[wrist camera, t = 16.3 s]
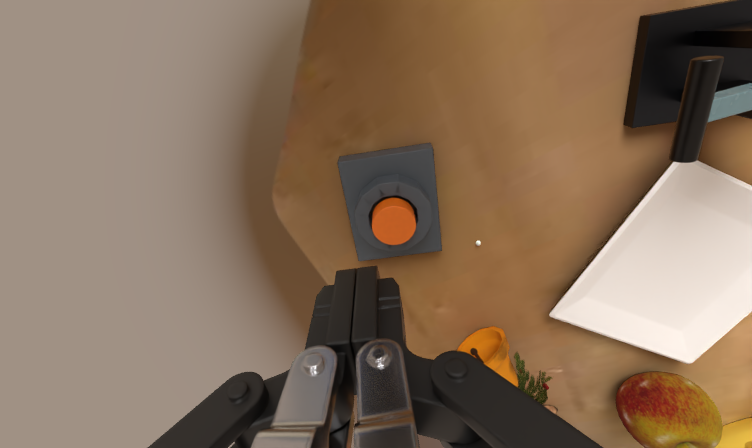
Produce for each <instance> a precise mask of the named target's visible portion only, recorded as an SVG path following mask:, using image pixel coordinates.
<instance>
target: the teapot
mask: <svg viewBox="0 0 752 448" xmlns="http://www.w3.org/2000/svg"><path fill="white" fill-rule="evenodd" d="M722 428H723V429H722V437H721V440H720V442H719V443H718V445H717V446H716V447H715V448H752V418H748V419H744V420H740V421H736V422H733V423H730V424H727V425H724V426H722Z"/></svg>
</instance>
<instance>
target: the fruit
mask: <svg viewBox="0 0 752 448" xmlns="http://www.w3.org/2000/svg"><path fill="white" fill-rule="evenodd" d="M616 407H617V412H618V415H619V417H620V419H621V421H622V423H623V425H624V426H625V428H626V429H627V430H628V432H629V433H630V434H631V435H632V436H633V438H634V439H635V440H637V441H638V442H639V443H640V444H641V445H643V446H644V447H645V448H715V447H716V446H717V445H718V443H719V442H720V440H721V437H722V429H723V428H722V421H721V416H720V414H719V411H718V409H717V407H716V405H715V404H714V402H713V401H712V400H711V398H710V397H709V396H708V395H707V394H706V393H705V392H704V391H703V390H702V389H701V388H700V387H699V386H697V385H696V384H695V383H693V382H692V381H690V380H688V379H686V378H684V377H682V376H679V375H677V374H673V373H666V372H657V371H655V372H646V373H641V374H637V375H634V376H632V377H630V378H629V379H627V380H626V381H624V383H623V384H622V385H621V386H620V388H619V389H618V392H617V395H616Z"/></svg>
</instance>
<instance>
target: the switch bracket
mask: <svg viewBox="0 0 752 448" xmlns="http://www.w3.org/2000/svg"><path fill="white" fill-rule="evenodd" d="M703 56H723V57H724V61H723V65H722V68H721V72H720V76H719V80H718V84H717V88H716V92H719V91H722V90H726V89H730V88H734V87H737V86H741V85H745V84H749V83H752V0H730V1H724V2H718V3H712V4H706V5H701V6H695V7H689V8H683V9H678V10H672V11H666V12H660V13H655V14H649V15H643V16H640V22H639V28H638V35H637V41H636V48H635V54H634V61H633V67H632V74H631V80H630V87H629V93H628V100H627V106H626V113H625V119H624V125H626V126H628V127H631V128H636V127H642V126H649V125H656V124H663V123H669V122H676V121H677V119H678V114H679V110H680V105H681V100H682V96H683V91H684V87H685V82H686V78H687V73H688V69H689V64H690V61H691V59H693V58H696V57H703ZM736 115H737V116H741V117H746V118H750V119H752V110H750V111H746V112H743V113H739V114H736Z"/></svg>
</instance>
